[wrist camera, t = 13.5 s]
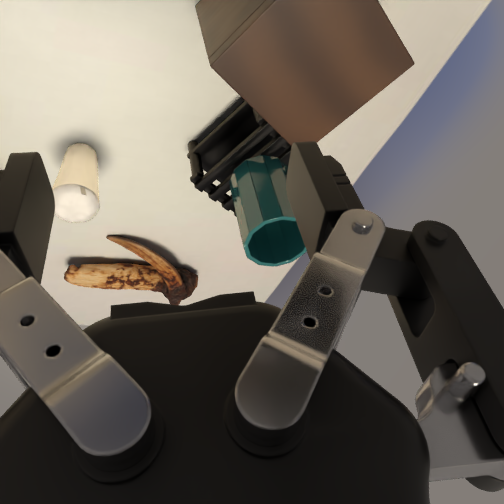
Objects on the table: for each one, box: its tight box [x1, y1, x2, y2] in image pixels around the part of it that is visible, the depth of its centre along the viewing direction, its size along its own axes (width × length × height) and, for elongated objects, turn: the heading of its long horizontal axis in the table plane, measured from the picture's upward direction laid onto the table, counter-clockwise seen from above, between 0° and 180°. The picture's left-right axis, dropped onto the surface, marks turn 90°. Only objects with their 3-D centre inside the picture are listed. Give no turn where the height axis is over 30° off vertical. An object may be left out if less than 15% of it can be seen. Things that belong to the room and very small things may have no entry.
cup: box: [229, 155, 307, 266], centre depth 42 cm, size 6×6×9 cm
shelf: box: [195, 0, 414, 146], centre depth 36 cm, size 11×11×12 cm
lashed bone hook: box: [64, 236, 198, 305], centre depth 59 cm, size 9×5×18 cm
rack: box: [187, 101, 292, 217], centre depth 47 cm, size 10×10×7 cm
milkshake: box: [52, 143, 100, 223], centre depth 43 cm, size 4×5×10 cm
